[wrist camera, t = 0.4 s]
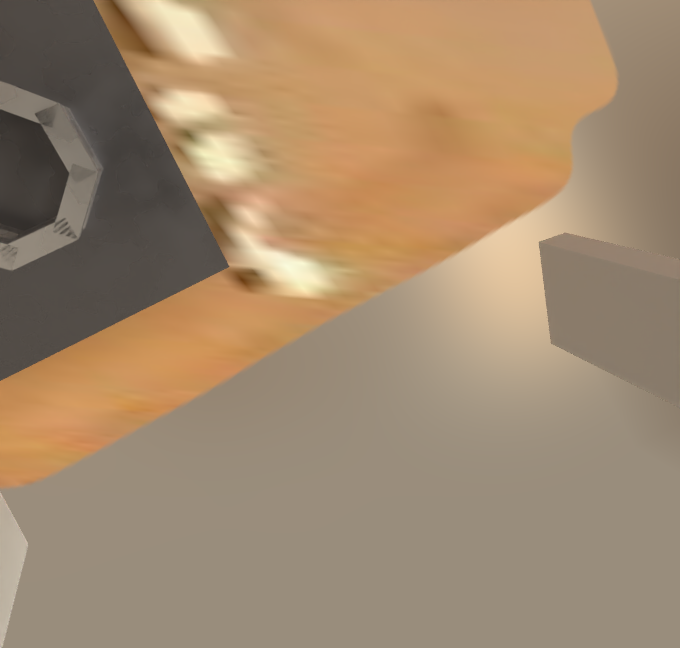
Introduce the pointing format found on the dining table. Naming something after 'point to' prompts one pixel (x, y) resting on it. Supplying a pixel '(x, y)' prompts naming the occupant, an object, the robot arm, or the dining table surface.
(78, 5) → the tube holder base
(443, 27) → the dining table surface
